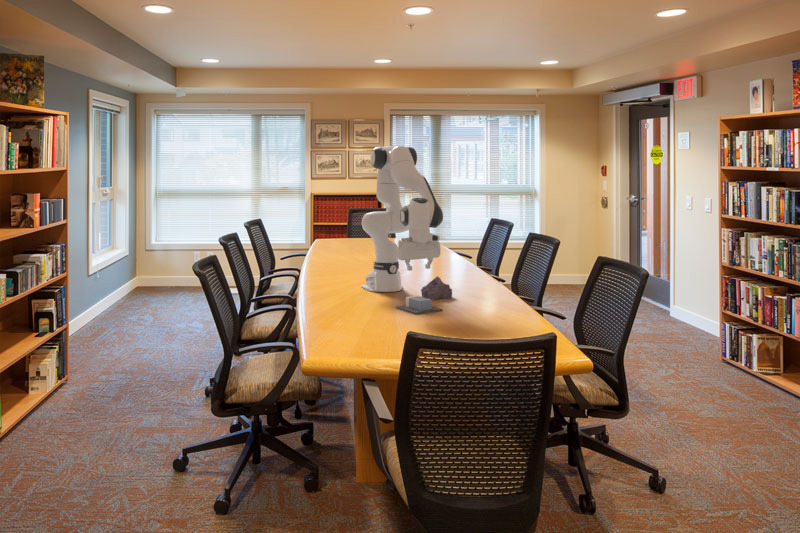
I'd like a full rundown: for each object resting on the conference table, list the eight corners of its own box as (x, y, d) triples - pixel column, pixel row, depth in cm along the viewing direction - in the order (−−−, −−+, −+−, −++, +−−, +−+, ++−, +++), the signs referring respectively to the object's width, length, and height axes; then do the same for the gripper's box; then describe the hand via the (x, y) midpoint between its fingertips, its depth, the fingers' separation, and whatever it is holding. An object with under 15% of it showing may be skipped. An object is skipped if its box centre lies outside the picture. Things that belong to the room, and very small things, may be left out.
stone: (423, 278, 311) (453, 276, 316) (418, 277, 317) (448, 274, 322) (424, 301, 312) (454, 298, 317) (419, 299, 318) (449, 296, 323)
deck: (432, 309, 289) (432, 299, 289) (420, 310, 286) (420, 301, 285) (417, 304, 298) (417, 295, 298) (405, 306, 295) (405, 297, 294)
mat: (395, 308, 294) (395, 306, 294) (422, 304, 302) (422, 303, 302) (415, 314, 282) (415, 312, 282) (442, 310, 290) (442, 308, 290)
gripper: (402, 239, 279) (402, 272, 281) (442, 236, 290) (442, 268, 293) (394, 237, 284) (394, 270, 287) (434, 234, 296) (433, 266, 298)
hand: (418, 269), depth 290 cm, fingers open, 8 cm apart
